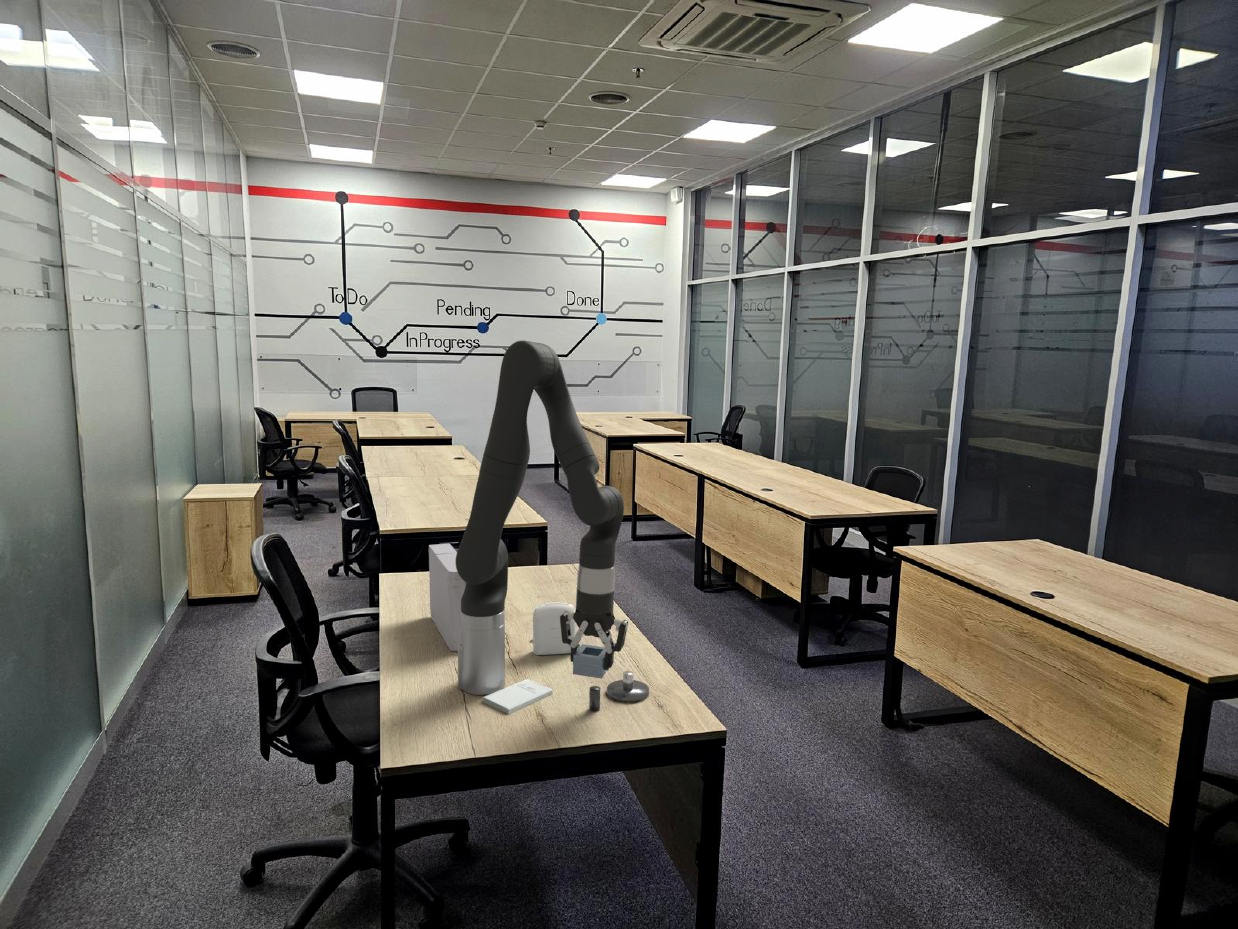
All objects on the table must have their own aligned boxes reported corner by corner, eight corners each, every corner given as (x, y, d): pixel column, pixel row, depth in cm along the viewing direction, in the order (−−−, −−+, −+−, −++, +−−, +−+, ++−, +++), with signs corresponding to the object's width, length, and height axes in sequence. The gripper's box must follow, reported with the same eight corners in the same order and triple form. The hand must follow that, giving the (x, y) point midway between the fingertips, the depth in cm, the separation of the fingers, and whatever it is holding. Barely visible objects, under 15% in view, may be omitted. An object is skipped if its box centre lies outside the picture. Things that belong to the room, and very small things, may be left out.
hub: (602, 699, 160) (602, 679, 159) (612, 681, 169) (612, 662, 168) (644, 705, 158) (644, 684, 157) (652, 686, 167) (652, 667, 166)
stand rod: (588, 710, 155) (588, 690, 154) (590, 706, 157) (591, 685, 156) (598, 712, 154) (598, 691, 154) (601, 707, 157) (601, 686, 156)
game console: (450, 653, 183) (448, 572, 180) (429, 616, 208) (427, 545, 205) (473, 649, 185) (473, 570, 182) (450, 613, 210) (449, 543, 207)
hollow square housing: (572, 674, 152) (573, 655, 151) (581, 662, 158) (582, 644, 157) (601, 678, 150) (602, 659, 150) (609, 666, 156) (610, 648, 156)
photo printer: (533, 656, 182) (533, 607, 180) (532, 649, 186) (532, 601, 184) (576, 654, 183) (576, 605, 181) (574, 647, 187) (574, 599, 186)
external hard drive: (482, 704, 158) (526, 684, 168) (508, 716, 153) (552, 696, 162) (482, 696, 158) (526, 677, 167) (508, 709, 153) (552, 688, 162)
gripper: (555, 587, 149) (551, 668, 152) (626, 596, 146) (621, 679, 149) (567, 576, 157) (563, 654, 159) (635, 585, 153) (630, 664, 156)
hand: (591, 666), depth 154 cm, fingers closed on hollow square housing, 6 cm apart
